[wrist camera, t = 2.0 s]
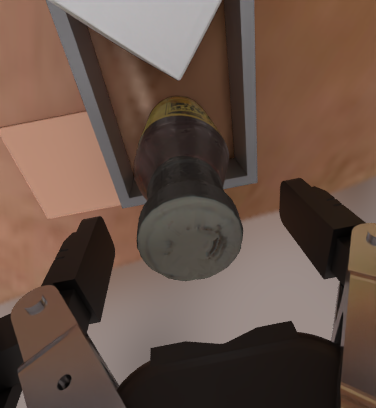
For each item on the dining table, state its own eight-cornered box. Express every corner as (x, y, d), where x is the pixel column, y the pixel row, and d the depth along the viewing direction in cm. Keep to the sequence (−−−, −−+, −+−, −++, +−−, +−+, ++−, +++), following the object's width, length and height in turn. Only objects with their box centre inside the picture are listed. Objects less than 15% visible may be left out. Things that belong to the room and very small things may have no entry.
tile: (106, 106, 25) (105, 107, 24) (136, 199, 30) (136, 202, 30) (-1, 127, 25) (-4, 129, 24) (49, 216, 30) (47, 219, 30)
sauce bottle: (217, 124, 26) (317, 245, 10) (178, 164, 28) (202, 323, 12) (173, 76, 24) (202, 128, 7) (133, 124, 26) (77, 257, 9)
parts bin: (229, -118, 18) (250, -173, 13) (243, 164, 29) (257, 182, 25) (39, -80, 18) (1, -122, 14) (128, 186, 29) (122, 208, 25)
